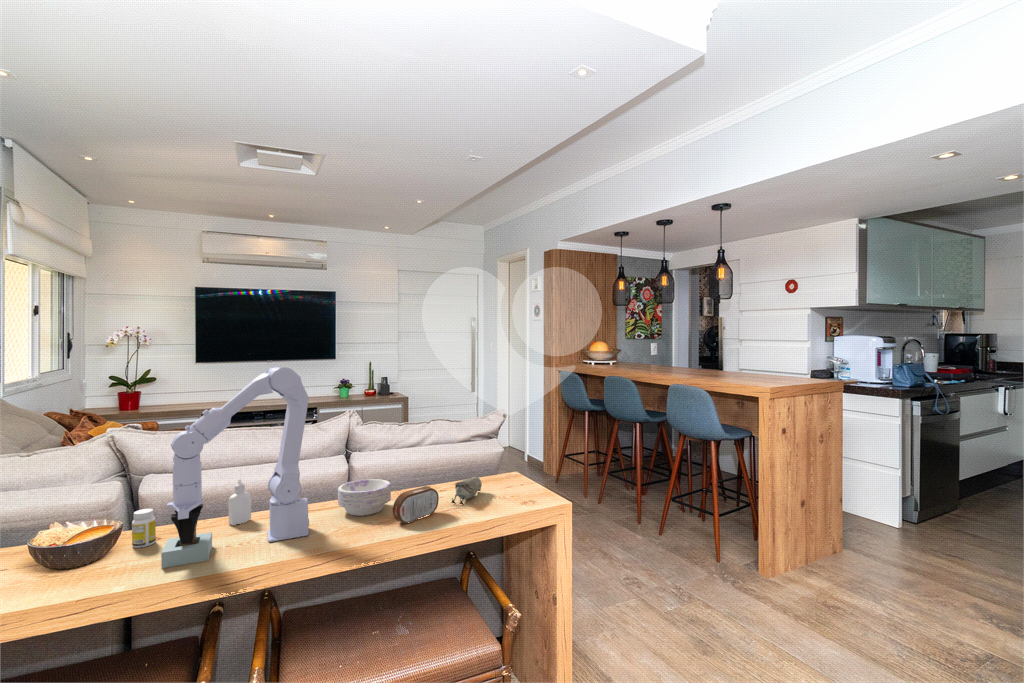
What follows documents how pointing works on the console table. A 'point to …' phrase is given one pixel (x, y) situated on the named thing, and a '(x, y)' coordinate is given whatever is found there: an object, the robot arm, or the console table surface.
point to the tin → (415, 504)
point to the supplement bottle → (143, 528)
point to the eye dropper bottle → (239, 505)
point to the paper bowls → (364, 496)
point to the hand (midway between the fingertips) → (187, 540)
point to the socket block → (186, 551)
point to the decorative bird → (467, 488)
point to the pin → (192, 541)
